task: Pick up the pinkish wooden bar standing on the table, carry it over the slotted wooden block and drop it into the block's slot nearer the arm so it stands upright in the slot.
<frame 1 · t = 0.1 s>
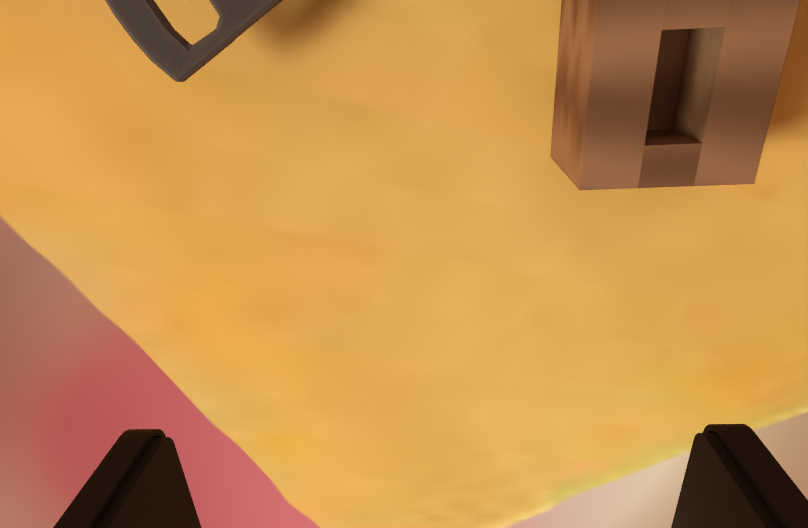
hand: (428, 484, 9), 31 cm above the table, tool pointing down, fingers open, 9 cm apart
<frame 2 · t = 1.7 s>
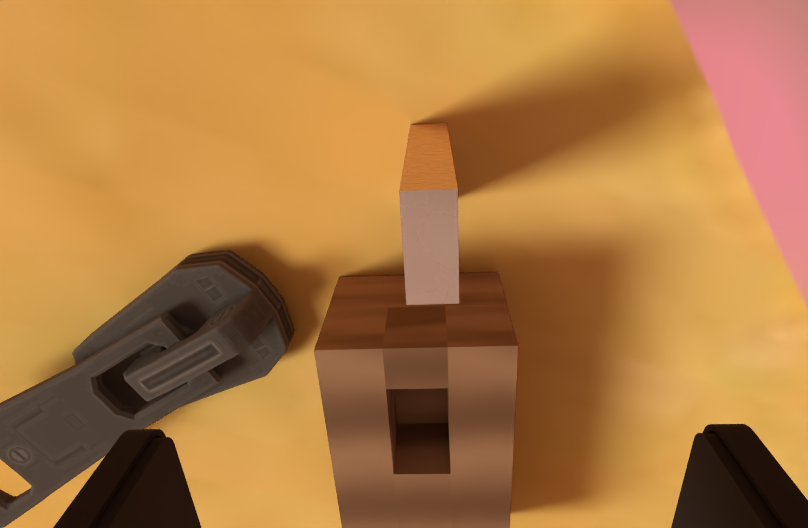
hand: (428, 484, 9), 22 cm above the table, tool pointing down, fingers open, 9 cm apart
zipper pull: (136, 360, 37), on the table
pinkish wooden bar: (429, 164, 29), on the table
slotted wooden block: (424, 410, 37), on the table
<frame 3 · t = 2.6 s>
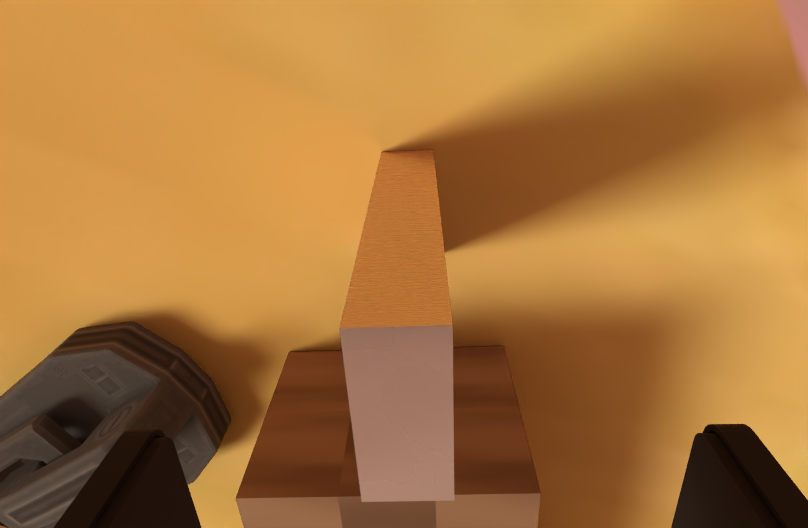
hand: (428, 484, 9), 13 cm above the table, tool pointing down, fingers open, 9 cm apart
zipper pull: (30, 456, 28), on the table
pinkish wooden bar: (409, 206, 21), on the table
slotted wooden block: (406, 508, 29), on the table
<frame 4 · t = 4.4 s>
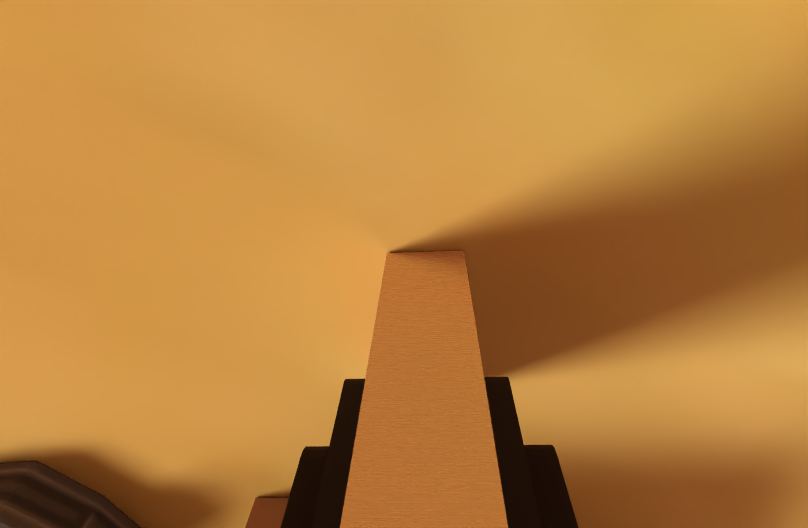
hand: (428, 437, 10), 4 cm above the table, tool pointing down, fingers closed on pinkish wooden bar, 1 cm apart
pinkish wooden bar: (428, 325, 14), on the table, touching gripper
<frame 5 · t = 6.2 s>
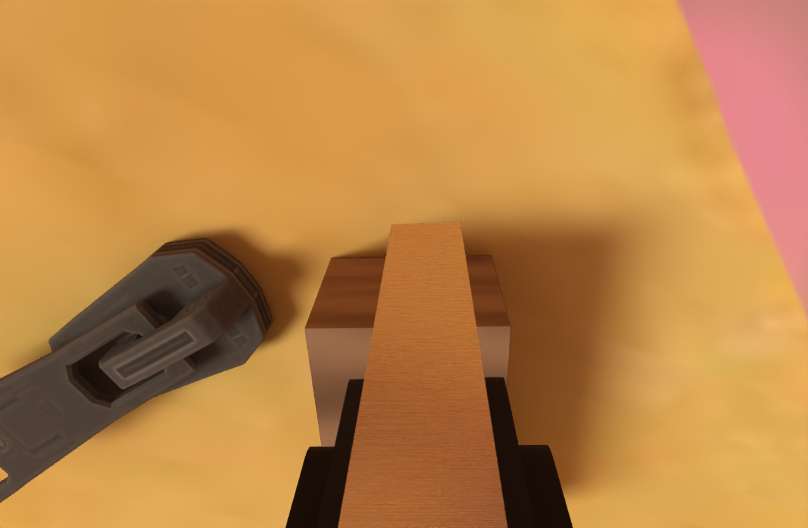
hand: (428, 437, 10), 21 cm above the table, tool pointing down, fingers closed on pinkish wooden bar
zipper pull: (114, 349, 37), on the table
pinkish wooden bar: (428, 291, 16), point 15 cm above the table, touching gripper
slotted wooden block: (415, 395, 37), on the table
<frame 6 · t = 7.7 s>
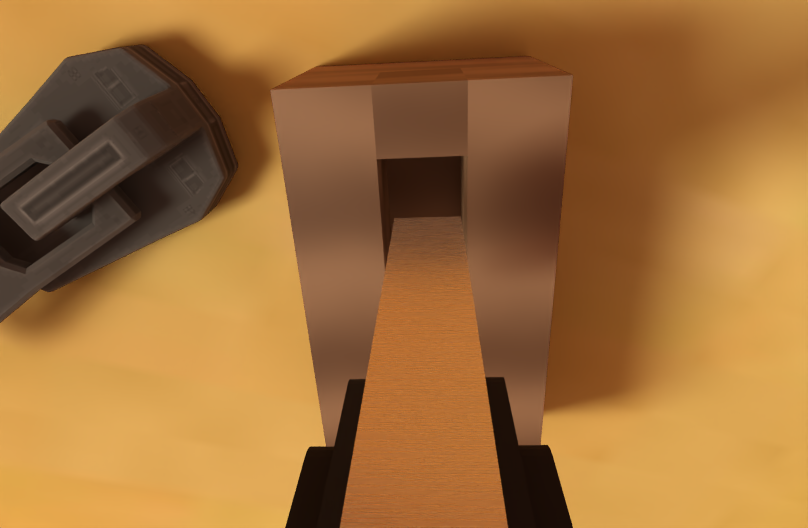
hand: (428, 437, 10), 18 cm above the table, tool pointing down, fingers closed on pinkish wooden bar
zipper pull: (42, 219, 29), on the table
pinkish wooden bar: (429, 283, 17), point 11 cm above the table, touching gripper
slotted wooden block: (428, 270, 29), on the table
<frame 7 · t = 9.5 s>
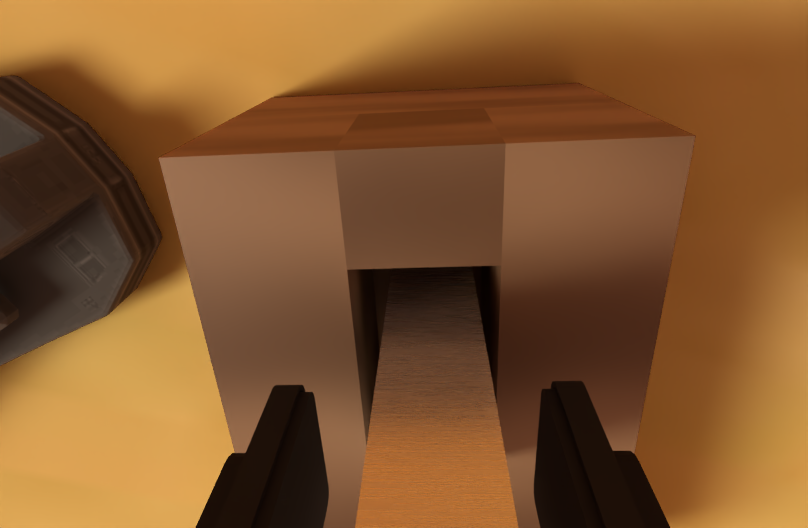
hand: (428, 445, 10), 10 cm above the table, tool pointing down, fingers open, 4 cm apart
pinkish wooden bar: (432, 304, 16), point 4 cm above the table, touching slotted wooden block
slotted wooden block: (431, 365, 22), on the table
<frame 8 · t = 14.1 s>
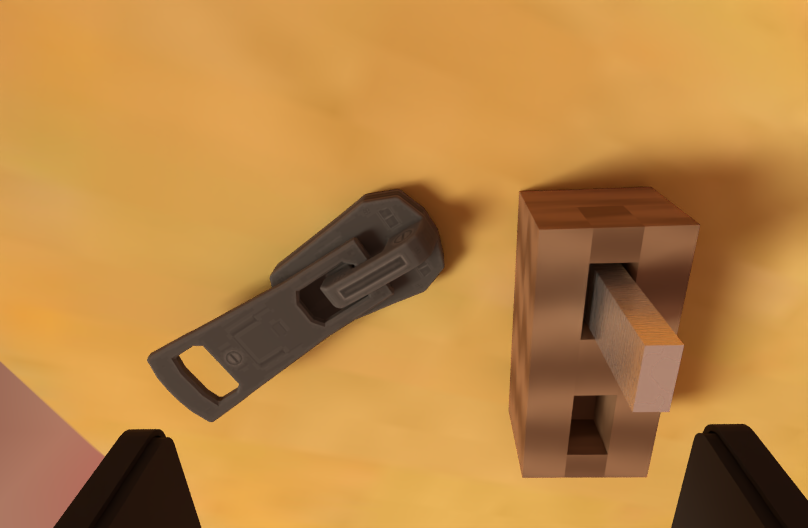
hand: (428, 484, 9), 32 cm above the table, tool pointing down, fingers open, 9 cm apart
zipper pull: (309, 287, 45), on the table
pinkish wooden bar: (593, 278, 39), point 4 cm above the table, touching slotted wooden block
slotted wooden block: (571, 311, 45), on the table
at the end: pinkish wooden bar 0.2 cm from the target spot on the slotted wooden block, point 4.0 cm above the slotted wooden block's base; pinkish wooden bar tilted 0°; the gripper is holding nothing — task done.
